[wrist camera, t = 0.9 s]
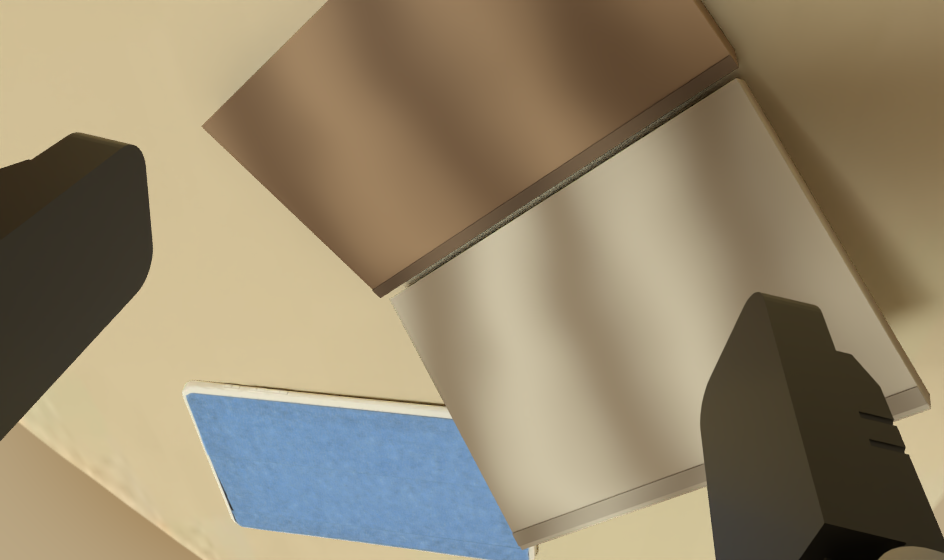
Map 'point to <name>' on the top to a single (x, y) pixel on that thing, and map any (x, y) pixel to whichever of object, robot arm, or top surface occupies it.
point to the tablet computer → (348, 470)
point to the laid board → (455, 112)
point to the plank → (633, 317)
